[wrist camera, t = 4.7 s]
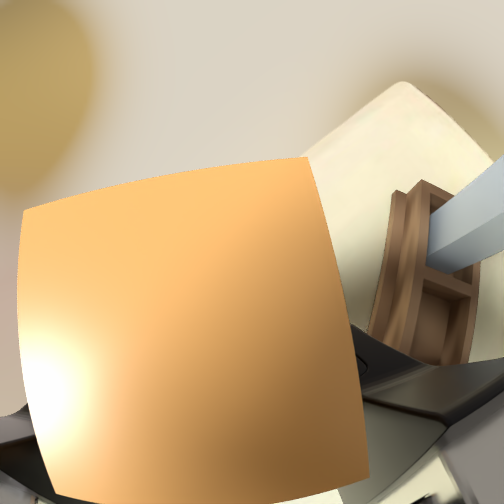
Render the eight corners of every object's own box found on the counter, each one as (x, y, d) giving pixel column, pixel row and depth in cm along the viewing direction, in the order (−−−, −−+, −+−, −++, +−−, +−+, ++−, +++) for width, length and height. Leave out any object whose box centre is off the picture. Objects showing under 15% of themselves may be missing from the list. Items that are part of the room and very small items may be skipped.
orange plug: (269, 371, 15) (369, 477, 2) (195, 381, 14) (55, 493, 2) (256, 299, 16) (307, 156, 4) (184, 310, 16) (23, 210, 3)
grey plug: (447, 274, 23) (551, 225, 10) (416, 261, 23) (520, 200, 11) (450, 236, 24) (541, 175, 12) (420, 222, 24) (510, 148, 12)
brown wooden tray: (441, 394, 21) (467, 398, 17) (353, 378, 21) (374, 384, 17) (465, 228, 26) (487, 214, 22) (391, 194, 26) (410, 174, 22)
